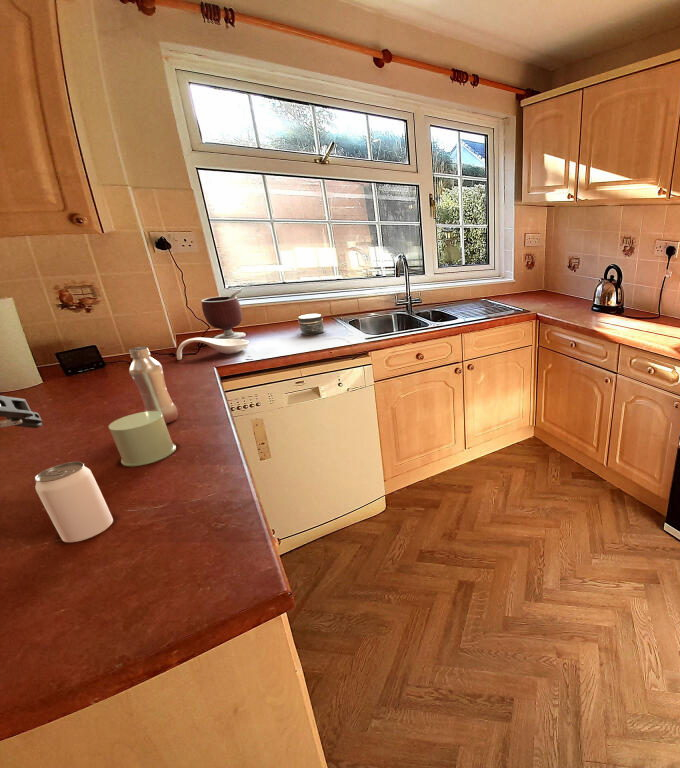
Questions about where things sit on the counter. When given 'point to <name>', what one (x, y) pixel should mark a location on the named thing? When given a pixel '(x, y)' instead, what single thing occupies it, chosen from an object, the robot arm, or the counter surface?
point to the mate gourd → (224, 315)
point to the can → (73, 501)
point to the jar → (311, 324)
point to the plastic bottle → (151, 383)
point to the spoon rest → (217, 345)
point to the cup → (142, 438)
